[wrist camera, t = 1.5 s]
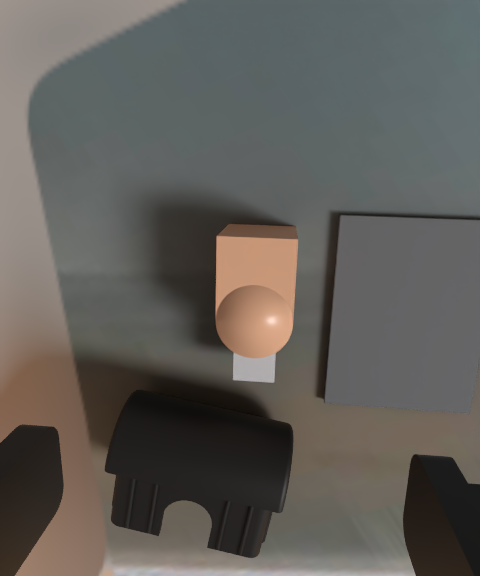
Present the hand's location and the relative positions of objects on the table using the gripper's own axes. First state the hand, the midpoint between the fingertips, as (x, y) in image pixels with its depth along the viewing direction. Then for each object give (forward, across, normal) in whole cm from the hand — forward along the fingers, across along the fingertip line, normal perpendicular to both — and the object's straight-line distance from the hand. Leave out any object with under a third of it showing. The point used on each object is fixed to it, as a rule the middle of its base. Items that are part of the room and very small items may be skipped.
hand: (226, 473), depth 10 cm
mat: (+18, -9, +2) cm, 20 cm away
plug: (+18, 0, +1) cm, 18 cm away
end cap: (+18, +3, +11) cm, 22 cm away
